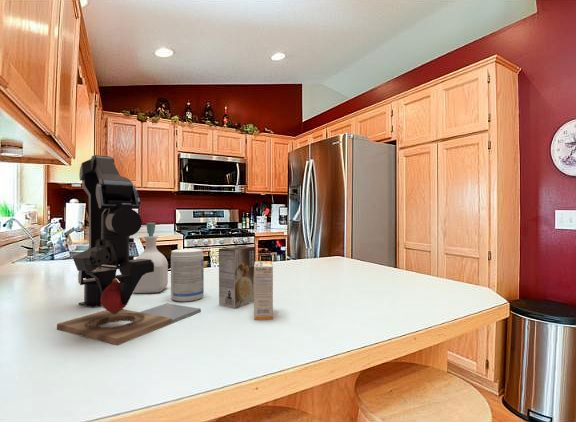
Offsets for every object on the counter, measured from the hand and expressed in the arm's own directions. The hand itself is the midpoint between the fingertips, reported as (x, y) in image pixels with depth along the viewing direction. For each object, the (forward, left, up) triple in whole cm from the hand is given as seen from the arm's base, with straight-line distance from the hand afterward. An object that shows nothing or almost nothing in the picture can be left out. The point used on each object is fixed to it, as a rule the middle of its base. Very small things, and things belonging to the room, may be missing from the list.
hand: (115, 302), depth 73 cm
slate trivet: (+4, +11, -5) cm, 13 cm away
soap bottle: (-21, +28, -6) cm, 35 cm away
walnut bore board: (0, 0, -5) cm, 5 cm away
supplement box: (+26, +22, -6) cm, 35 cm away
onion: (0, 0, -3) cm, 3 cm away
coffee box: (+14, +28, -6) cm, 32 cm away
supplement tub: (-3, +26, -6) cm, 27 cm away
